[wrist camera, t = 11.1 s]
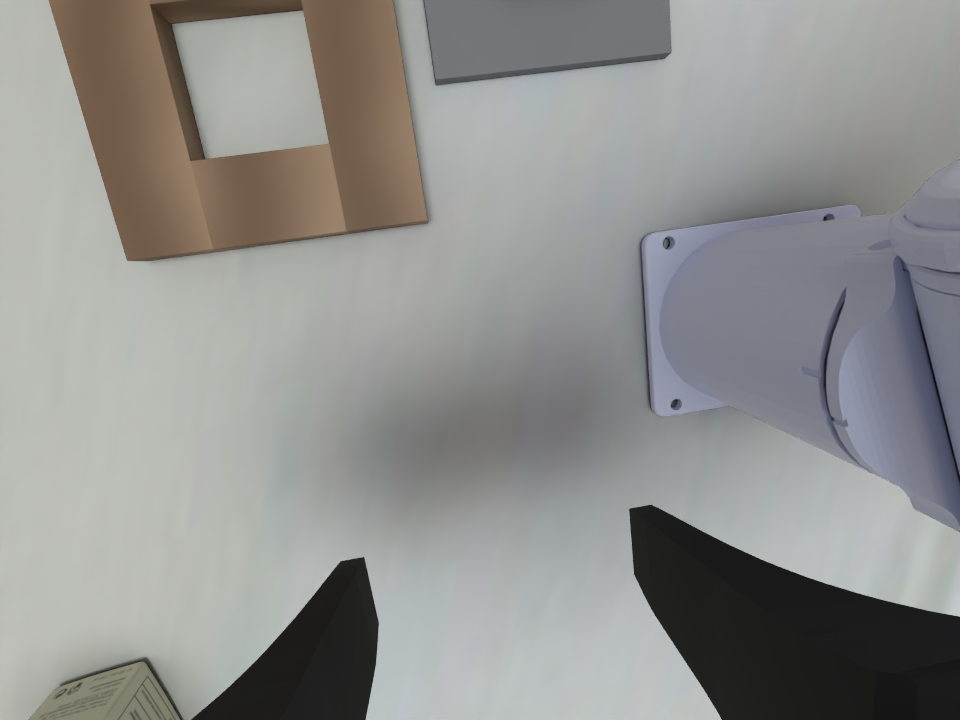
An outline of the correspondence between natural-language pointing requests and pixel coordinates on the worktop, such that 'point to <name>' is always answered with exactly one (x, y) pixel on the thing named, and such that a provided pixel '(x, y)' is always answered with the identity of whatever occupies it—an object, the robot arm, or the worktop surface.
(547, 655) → the worktop surface
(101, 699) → the skincare box
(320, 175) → the walnut square frame
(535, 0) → the charcoal mat
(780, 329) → the robot arm
